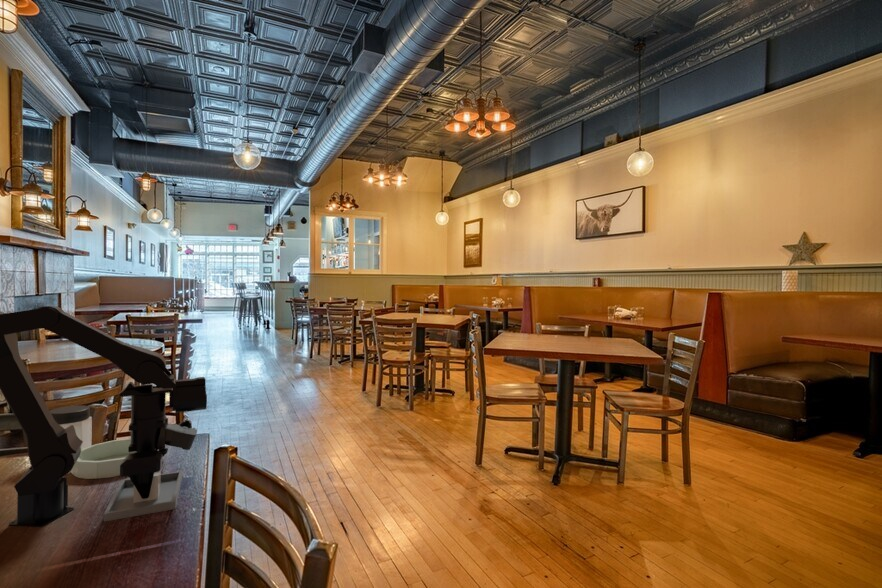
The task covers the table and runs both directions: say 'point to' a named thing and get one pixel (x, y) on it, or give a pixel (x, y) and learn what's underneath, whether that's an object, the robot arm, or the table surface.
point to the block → (154, 489)
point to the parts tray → (126, 508)
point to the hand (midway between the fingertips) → (147, 493)
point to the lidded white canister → (76, 421)
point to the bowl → (102, 459)
